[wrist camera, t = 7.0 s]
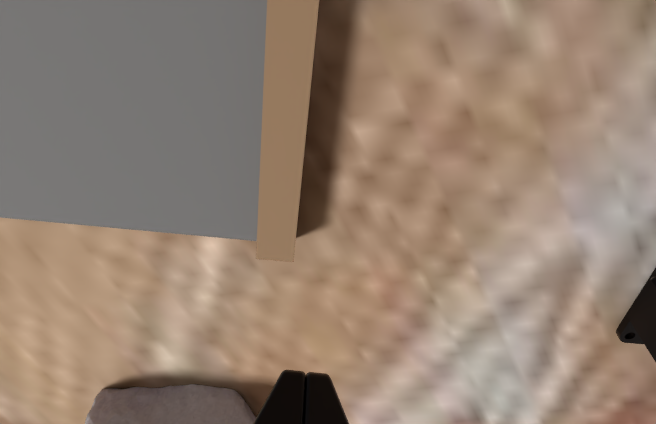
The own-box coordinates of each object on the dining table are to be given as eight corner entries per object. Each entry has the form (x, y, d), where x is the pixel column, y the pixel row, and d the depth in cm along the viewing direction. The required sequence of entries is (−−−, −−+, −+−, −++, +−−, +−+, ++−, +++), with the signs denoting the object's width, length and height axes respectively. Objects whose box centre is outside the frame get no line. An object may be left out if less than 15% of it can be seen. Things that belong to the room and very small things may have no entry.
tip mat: (355, -372, 13) (358, -397, 11) (295, 239, 24) (293, 262, 22) (-351, -488, 12) (-437, -530, 10) (-72, 204, 23) (-97, 226, 21)
